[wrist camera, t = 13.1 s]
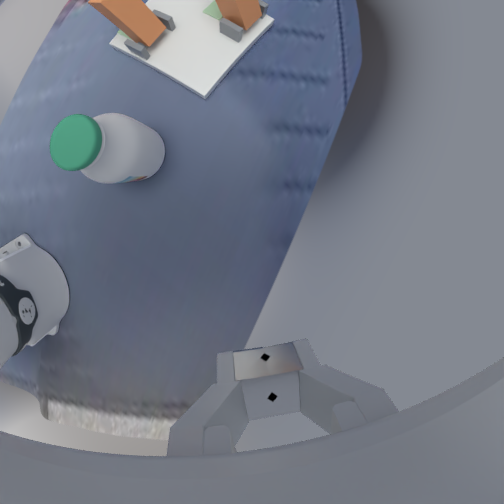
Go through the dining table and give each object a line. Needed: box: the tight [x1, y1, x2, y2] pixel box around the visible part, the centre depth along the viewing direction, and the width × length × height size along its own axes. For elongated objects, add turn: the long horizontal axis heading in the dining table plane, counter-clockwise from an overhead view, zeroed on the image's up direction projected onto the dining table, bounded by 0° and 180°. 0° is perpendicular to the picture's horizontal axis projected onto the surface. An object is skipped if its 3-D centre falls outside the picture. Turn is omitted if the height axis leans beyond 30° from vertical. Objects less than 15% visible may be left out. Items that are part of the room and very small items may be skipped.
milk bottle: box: [50, 113, 165, 184], centre depth 28 cm, size 8×8×20 cm
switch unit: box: [109, 0, 274, 100], centre depth 30 cm, size 16×18×6 cm
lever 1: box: [88, 0, 166, 48], centre depth 24 cm, size 4×4×12 cm
